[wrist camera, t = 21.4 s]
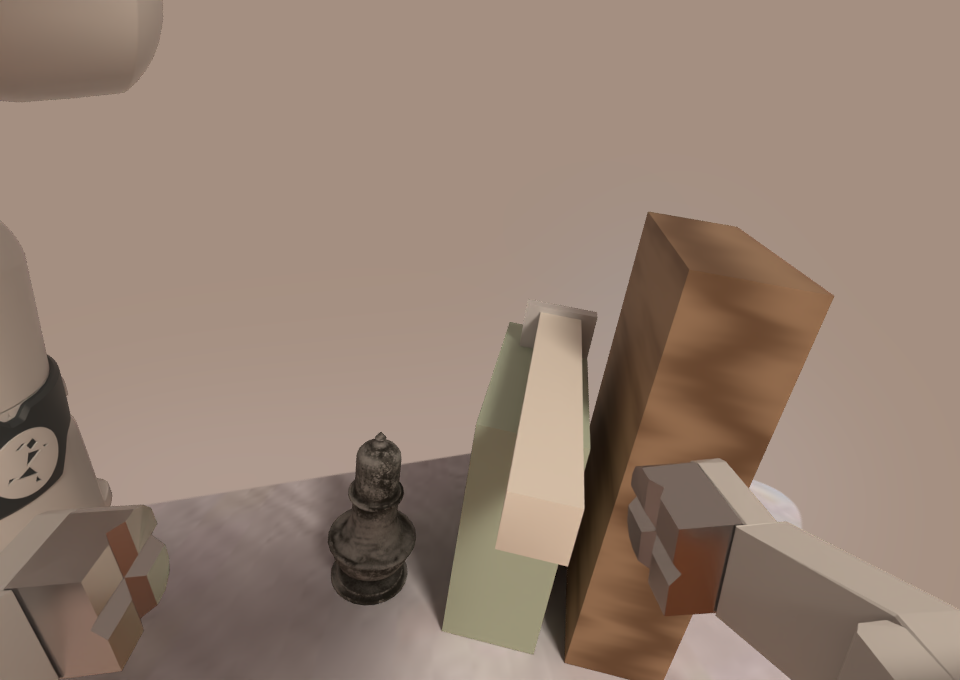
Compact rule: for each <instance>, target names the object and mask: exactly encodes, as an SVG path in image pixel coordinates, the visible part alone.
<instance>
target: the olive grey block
mask: <svg viewBox="0 0 960 680" xmlns="http://www.w3.org/2000/svg"><path fill="white" fill-rule="evenodd" d="M522 329H523V325H522V324H517V323H512V322H510V323H509V327H508V329H507V332H506V335H505V338H504V341H503V344H502V347H501V351H500V354H499V357H498V359H497V362H496V365H495V369H494V372H493V375H492V378H491V381H490V384H489V387H488V390H487V393H486V396H485V399H484V402H483V405H482V408H481V411H480V414H479V417H478V420H477V424H476V428H475V434H474V440H473V446H472V452H471V458H470V464H469V470H468V476H467V482H466V488H465V494H464V500H463V506H462V512H461V518H460V525H459V531H458V537H457V543H456V549H455V555H454V561H453V567H452V573H451V579H450V585H449V591H448V597H447V603H446V609H445V615H444V621H443V627H442V631H444V632H448V633H452V634H455V635H459V636H463V637H467V638H471V639H475V640H479V641H482V642H486V643H490V644H494V645H498V646H502V647H506V648H509V649H513V650H517V651H521V652H525V653H529V654H534V650H535V647H536V643H537V639H538V636H539V632H540V629H541V625H542V622H543V618H544V614H545V611H546V607H547V604H548V600H549V596H550V593H551V589H552V586H553V582H554V578H555V575H556V571H557V568H558V564H555V563H551V562H547V561H542V560H538V559H534V558H530V557H526V556H522V555H518V554H513V553H509V552H505V551H501V550H497V549H495V546H496V541H497V535H498V530H499V525H500V520H501V514H502V509H503V504H504V499H505V494H506V488H507V483H508V478H509V473H510V467H511V462H512V457H513V452H514V446H515V441H516V436H517V431H518V425H519V420H520V415H521V410H522V404H523V399H524V394H525V389H526V383H527V378H528V373H529V368H530V363H531V357H532V352H533V348H528V347H523V346H519V344H520V339H521V334H522ZM582 390H583V451H584V470H585V467H586V463H587V460H588V456H589V453H590V423H589V395H588V367H587V359H582Z"/></svg>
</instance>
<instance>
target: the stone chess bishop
mask: <svg viewBox="0 0 960 680" xmlns="http://www.w3.org/2000/svg"><path fill="white" fill-rule="evenodd" d="M400 468H401V452H400V450H399V448H398V447H397V446H396V445H395V444H394V443H393V442H391V441H389V440H386V436H385V435H384V434H383V433H382V432H380V433H379V434H378V435H377V436H376V437H375V439H372V440H369V441H367V442H365V443H364V444H363V445H362V446H361V447H360V448H359V450H358V453H357V458H356V475H355V480H354V481H353V482H352V483H351V485H350V487H349V492H348V495H349V498H350V500H351V502H352V503H353V505H352V509H351V510H349V511H347V512H345V513H344V514H342V515H341V516H339V517H338V518H337V520H336V521H335V522H334V523H333V524H332V526H331V529H330V531H329V535H328V544H329V548H330V551H331V552H332V554H333V555H334V558H335V560H336V561H335V563H334V565H333V567H332V573H331V580H332V584H333V587H334V588H335V590H336V592H337V593H338V594H339V595H340V596H341V597H343V598H344V599H345V600H347V601H350V602H352V603H354V604H360V605H375V604H379V603H382V602H385V601H387V600H389V599H391V598H392V597H394V596H395V595H396V594H397V593H398V592H399V591H400V590H401V589H402V587H403V586H404V584H405V581H406V577H407V565H406V563H405V560H406V558H407V557H408V556H409V554H410V553H411V551H412V550H413V548H414V545H415V541H416V533H415V528H414V526H413V524H412V522H411V521H410V520H409V519H408V517H407V516H406V515H404V514H403V513H401V512H400V511H398V510H397V508H398V504H399V503H400V501H401V500H402V498H403V495H404V490H403V486H402V484H401V483H400V482H399V477H400Z"/></svg>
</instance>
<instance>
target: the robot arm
mask: <svg viewBox="0 0 960 680" xmlns="http://www.w3.org/2000/svg"><path fill="white" fill-rule="evenodd" d="M162 22H163V0H0V101H9V102H31V101H44V100H57V99H70V98H80V97H90V96H99V95H109V94H118V93H124V92H126V91H127V90H128V89H129V88H131V87H132V86H133V85H134V84H135V83H136V82H137V81H138V80H139V79H140V77H141V76H142V75H143V74H144V72H145V71H146V69H147V68H148V66H149V64H150V63H151V61H152V59H153V57H154V54H155V52H156V49H157V46H158V43H159V39H160V34H161V29H162ZM67 395H68V392H67V388H66V384H65V382H64V379H63V378H62V377H61V374H60V370H59V367H58V365H57V363H56V362H55V360H54V359H53V358H52V357H50V356H49V355H47V354H46V349H45V344H44V340H43V335H42V331H41V326H40V321H39V317H38V312H37V307H36V303H35V298H34V294H33V289H32V284H31V280H30V275H29V271H28V266H27V261H26V258H25V253H24V251H23V248H22V247H21V245H20V243H19V241H18V240H17V238H16V237H15V236H14V234H13V233H12V232H11V231H10V230H9V229H8V227H7V226H6V225H5V224H4V223H3V222H1V221H0V680H60V679H65V678H73V677H81V676H88V675H96V674H104V673H112V672H119V671H122V670H123V668H124V666H125V664H126V662H127V661H128V659H129V657H130V655H131V653H132V651H133V649H134V648H135V646H136V644H137V642H138V640H139V638H140V637H141V635H142V633H143V631H144V629H143V626H142V622H141V619H140V618H142V617H143V616H144V615H145V614H147V613H148V612H149V611H150V610H152V609H153V608H154V607H155V606H157V605H158V603H159V601H160V599H161V597H162V595H163V593H164V591H165V589H166V585H167V580H168V575H169V571H170V569H169V556H168V553H167V550H166V547H165V544H163V543H162V542H161V541H159V540H158V539H157V538H155V537H154V536H152V535H151V534H152V533H153V531H154V529H155V527H156V525H157V521H156V519H155V516H154V514H153V512H152V509H151V508H150V507H147V506H144V505H131V506H112V507H110V505H111V501H112V492H111V490H110V487H109V484H108V483H107V482H106V481H105V480H103V479H98V478H96V476H95V473H94V470H93V467H92V464H91V461H90V458H89V455H88V453H87V450H86V447H85V444H84V442H83V439H82V436H81V433H80V431H79V428H78V425H77V423H76V421H75V419H74V417H73V416H72V415H70V411H69V407H68V402H67V397H66V396H67ZM631 487H632V489H633V490H634V492H635V494H636V497H635V499H634V500H633V501H632V502H631V503H630V504H629V505H628V516H627V524H628V532H629V538H630V542H631V545H632V548H633V551H634V553H635V555H636V557H637V560H638V561H639V562H641V563H642V564H643V565H645V566H646V567H648V568H649V569H650V571H649V578H648V583H649V585H650V588H651V590H652V592H653V594H654V596H655V598H656V600H657V602H658V604H659V607H660V609H661V611H662V613H663V615H664V616H678V615H692V614H706V613H716V616H717V617H718V618H719V619H720V620H721V621H723V622H724V623H725V624H726V625H727V626H729V627H730V628H731V629H732V630H733V631H734V632H736V633H737V634H738V635H739V636H740V637H742V638H743V639H744V640H745V641H746V642H747V643H749V644H750V645H751V646H752V647H753V648H755V649H756V650H757V651H758V652H759V653H760V654H762V655H763V656H764V657H765V658H766V659H768V660H769V661H770V662H771V663H772V664H773V665H775V666H776V667H777V668H778V669H779V670H781V671H782V672H783V673H784V674H785V675H786V676H788V677H789V678H790V679H791V680H960V609H958V608H956V607H954V606H952V605H950V604H948V603H946V602H944V601H942V600H940V599H938V598H936V597H934V596H932V595H930V594H928V593H926V592H924V591H922V590H920V589H918V588H916V587H915V586H913V585H910V584H909V583H907V582H905V581H903V580H901V579H899V578H897V577H895V576H893V575H891V574H889V573H887V572H885V571H883V570H881V569H879V568H877V567H875V566H873V565H871V564H869V563H867V562H865V561H863V560H861V559H859V558H857V557H855V556H853V555H851V554H849V553H847V552H845V551H843V550H841V549H840V548H838V547H836V546H834V545H832V544H829V543H828V542H826V541H824V540H822V539H820V538H818V537H816V536H814V535H812V534H810V533H808V532H806V531H804V530H802V529H800V528H798V527H796V526H794V525H792V524H790V523H788V522H777V521H776V520H775V519H774V518H773V516H772V515H771V514H770V513H769V512H768V511H767V509H766V508H765V507H764V506H763V505H762V504H761V502H760V501H759V500H758V499H757V498H756V496H755V495H754V494H753V493H752V492H751V491H750V489H749V488H748V487H747V486H746V485H745V484H744V482H743V481H742V480H741V479H740V478H739V476H738V475H737V474H736V473H735V472H734V471H733V469H732V468H731V467H730V466H729V465H728V464H727V462H726V461H724V460H722V459H720V458H714V459H705V460H695V461H691V462H682V463H670V464H658V465H646V466H635V469H634V471H633V473H632V480H631Z"/></svg>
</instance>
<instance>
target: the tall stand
mask: <svg viewBox="0 0 960 680" xmlns="http://www.w3.org/2000/svg"><path fill="white" fill-rule="evenodd" d="M833 298H834V295H832V294H831V293H829V292H828V291H826V290H825V289H824V288H822V287H821V286H820V285H818V284H817V283H815V282H814V281H812V280H811V279H810V278H808V277H807V276H805V275H804V274H803V273H801V272H800V271H798V270H797V269H796V268H794V267H793V266H791V265H790V264H788V263H787V262H786V261H784V260H783V259H782V258H780V257H779V256H777V255H776V254H775V253H773V252H771V251H770V250H769V249H767V248H766V247H765V246H763V245H762V244H760V243H759V242H758V241H756V240H755V239H753V238H752V237H751V236H749V235H748V234H746V233H745V232H744V231H742V230H741V229H739V228H738V227H734V226H729V225H723V224H717V223H711V222H705V221H699V220H694V219H688V218H682V217H676V216H671V215H665V214H659V213H653V212H648V214H647V217H646V221H645V224H644V228H643V232H642V235H641V239H640V243H639V247H638V250H637V254H636V258H635V261H634V265H633V269H632V272H631V276H630V280H629V284H628V287H627V291H626V294H625V298H624V302H623V305H622V309H621V313H620V317H619V320H618V324H617V327H616V332H615V335H614V339H613V342H612V346H611V350H610V354H609V357H608V361H607V364H606V368H605V372H604V375H603V379H602V383H601V386H600V390H599V394H598V397H597V401H596V405H595V409H594V412H593V416H592V420H591V423H590V453H589V456H588V460H587V463H586V467H585V470H584V513H583V516H582V519H581V523H580V526H579V530H578V533H577V537H576V540H575V544H574V547H573V551H572V554H571V558H570V561H569V564H568V567H567V583H566V622H565V661H564V663H567V664H571V665H575V666H579V667H583V668H587V669H591V670H594V671H598V672H602V673H606V674H610V675H614V676H618V677H621V678H625V679H629V680H664V678H665V676H666V673H667V671H668V669H669V667H670V664H671V662H672V660H673V658H674V655H675V653H676V651H677V649H678V646H679V644H680V642H681V640H682V637H683V635H684V633H685V631H686V628H687V626H688V624H689V622H690V619H691V617H692V615H693V614H692V615H678V616H664V615H663V613H662V611H661V609H660V607H659V604H658V602H657V600H656V598H655V596H654V594H653V592H652V590H651V588H650V585H649V583H648V578H649V571H650V569H649V568H648V567H646V566H645V565H643V564H642V563H641V562H639V561H638V560H637V557H636V555H635V553H634V551H633V548H632V545H631V542H630V538H629V532H628V524H627V516H628V505H629V504H630V503H631V502H632V501H633V500H634V499H635V497H636V494H635V492H634V490H633V489H632V487H631V480H632V473H633V471H634V469H635V466H646V465H658V464H670V463H682V462H691V461H695V460H705V459H714V458H720V459H722V460H724V461H726V462H727V464H728V465H729V466H730V467H731V468H732V469H733V471H734V472H735V473H736V474H737V475H738V476H739V478H740V479H741V480H742V481H743V482H744V484H745V485H746V486H747V487H748V488H749V487H750V485H751V482H752V480H753V477H754V475H755V473H756V471H757V469H758V467H759V464H760V462H761V460H762V457H763V455H764V453H765V451H766V448H767V446H768V444H769V442H770V439H771V437H772V435H773V433H774V430H775V428H776V426H777V424H778V422H779V419H780V417H781V415H782V412H783V410H784V408H785V406H786V403H787V401H788V399H789V397H790V395H791V392H792V390H793V388H794V386H795V383H796V381H797V379H798V377H799V374H800V372H801V370H802V368H803V365H804V363H805V361H806V358H807V356H808V354H809V352H810V350H811V347H812V345H813V343H814V341H815V338H816V336H817V334H818V332H819V329H820V327H821V325H822V323H823V320H824V318H825V316H826V314H827V311H828V309H829V307H830V304H831V302H832V300H833Z"/></svg>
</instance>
